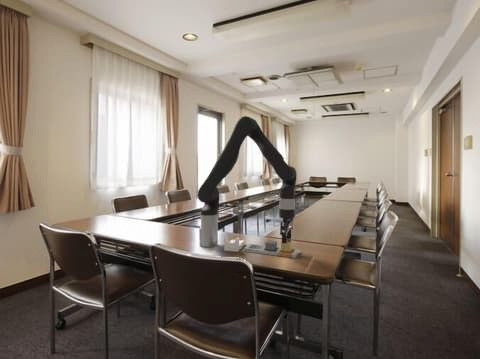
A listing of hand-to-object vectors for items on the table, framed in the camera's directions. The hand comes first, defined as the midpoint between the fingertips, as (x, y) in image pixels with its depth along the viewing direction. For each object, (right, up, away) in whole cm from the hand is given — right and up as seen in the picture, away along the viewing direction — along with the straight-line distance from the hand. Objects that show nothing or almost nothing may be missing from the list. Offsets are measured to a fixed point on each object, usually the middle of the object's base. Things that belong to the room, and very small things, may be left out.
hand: (286, 241), depth 132 cm
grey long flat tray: (-7, -7, +4) cm, 11 cm away
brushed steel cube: (-7, -6, +4) cm, 10 cm away
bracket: (-25, -7, +12) cm, 29 cm away
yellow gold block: (0, -6, 0) cm, 6 cm away
